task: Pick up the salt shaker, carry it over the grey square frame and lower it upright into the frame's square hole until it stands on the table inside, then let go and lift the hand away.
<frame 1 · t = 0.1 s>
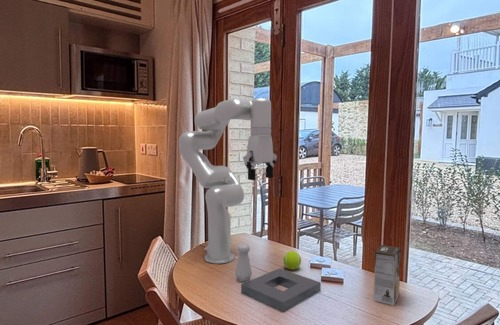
hand: (260, 178, 128), 37 cm above the table, tool pointing down, fingers open, 9 cm apart
grey square frame: (281, 291, 116), on the table
coffee box: (386, 298, 112), on the table
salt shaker: (243, 280, 125), on the table
tennis ball: (292, 269, 136), on the table
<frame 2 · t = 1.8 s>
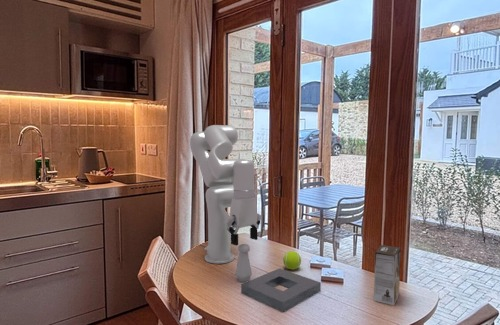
hand: (244, 241, 124), 14 cm above the table, tool pointing down, fingers open, 9 cm apart
nothing on the table moved.
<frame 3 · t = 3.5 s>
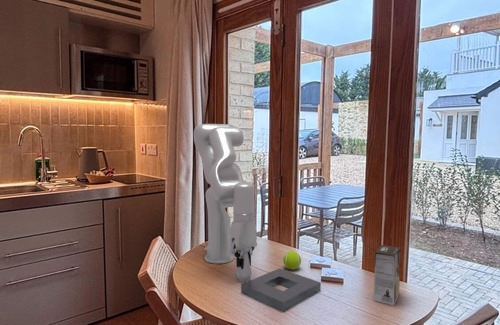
hand: (243, 266, 125), 5 cm above the table, tool pointing down, fingers closed on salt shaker, 3 cm apart
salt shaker: (243, 280, 125), on the table, touching gripper
everything else where it was.
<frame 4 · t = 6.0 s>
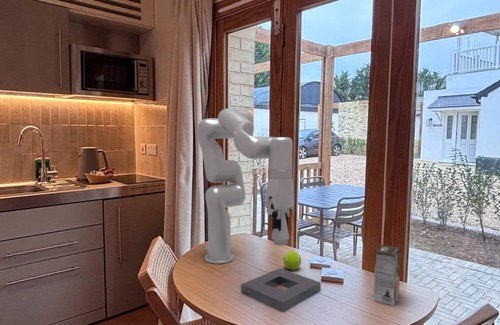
hand: (280, 229, 114), 21 cm above the table, tool pointing down, fingers closed on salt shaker, 3 cm apart
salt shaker: (280, 244, 115), point 16 cm above the table, touching gripper
everything else where it was.
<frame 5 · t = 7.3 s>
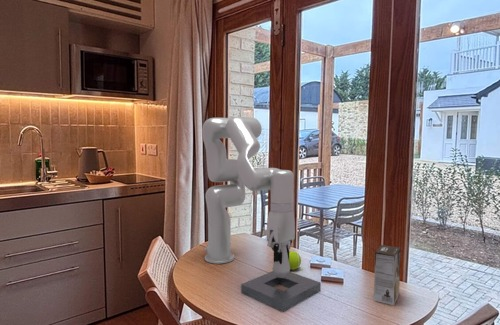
hand: (281, 261, 115), 11 cm above the table, tool pointing down, fingers closed on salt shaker, 3 cm apart
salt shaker: (281, 276, 115), point 5 cm above the table, touching gripper
everything else where it was.
when the fingers open (6 cm above the table, at t = 8.6 s): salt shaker stays where it is, resting in grey square frame.
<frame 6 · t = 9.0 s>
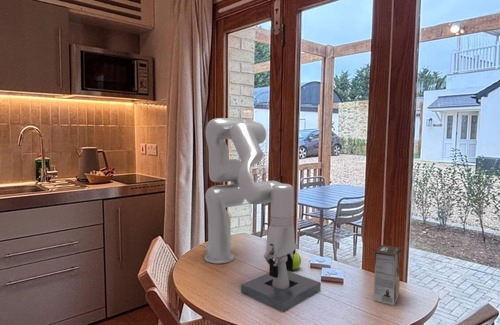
hand: (281, 272, 115), 7 cm above the table, tool pointing down, fingers open, 7 cm apart
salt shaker: (280, 292, 116), resting in grey square frame
everything else where it was.
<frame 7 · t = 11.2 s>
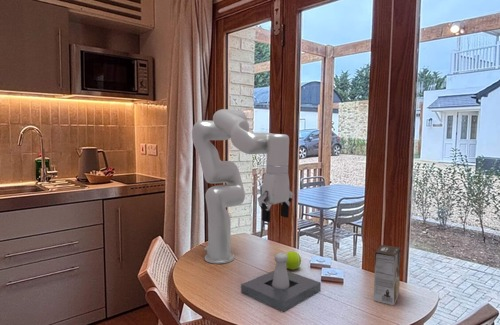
hand: (275, 219, 119), 24 cm above the table, tool pointing down, fingers open, 9 cm apart
nothing on the table moved.
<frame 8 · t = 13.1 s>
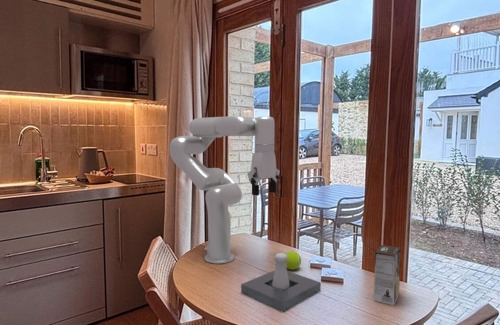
hand: (264, 193, 132), 30 cm above the table, tool pointing down, fingers open, 9 cm apart
nothing on the table moved.
at the end: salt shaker 0.1 cm off-centre on the grey square frame, point 0.0 cm above the grey square frame's base; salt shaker tilted 0°; the gripper is holding nothing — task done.
